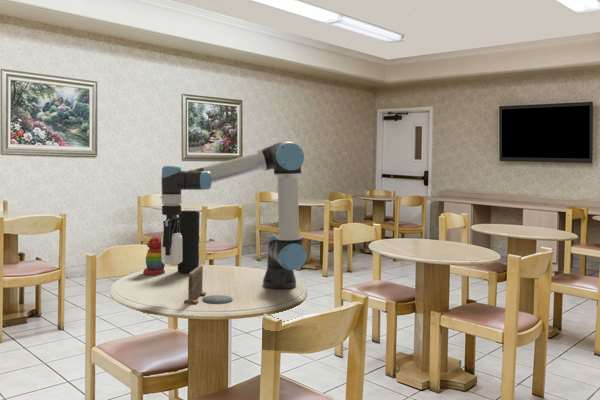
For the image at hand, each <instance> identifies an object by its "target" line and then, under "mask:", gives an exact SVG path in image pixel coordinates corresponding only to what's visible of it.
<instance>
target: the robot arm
mask: <svg viewBox="0 0 600 400" xmlns="http://www.w3.org/2000/svg"><path fill="white" fill-rule="evenodd" d="M304 161H305V153H304V150H303V148H302V147H301V146H300V145H299V144H297V143H296V142H292V141H283V142H277V143H274V144H272V145H270V146H267V147H265V148H261V149H258V150H257V152H256V153H251V154H247V155H244V156H239V157H236V158H234V159H229V160H226V161H222V162H221V161H220V162H217V163H213V164H209V165H207V166H203V167H199V168H195V169H190V170H182V167H181V165H180V166H179V165H165V166H162V168H161V195H160V199H161V204H162V206H161V215H163V216H166V218H165V220H163V221H162V222H163V223H162V224H163V233H162V235H163V245H162V246H163V247H165V263H167V264H172V247H171V244H172V235H173V233H180V224H179V222H180V218H179V217H178V215H180V214H181V211H182V205H181V204H182V190H184V191H185V190H186V191H187V190H192V191H193V190H194V191H197V190H198V191H204V190H210V189H211V188H212V184H214V183H216V182H221V181H225V180H228V179H231V178H235V177H239V176H242V175H247V174H249V173H254V172H256V171H257V172H258V171H261V170H263V171H264V172H266V171H269V170H273V175H274V176H275V177H276V178H277V203H278V204H277V206H278V207H277V208H278V211H277V212H278V234H277V235H269V236H268V238H267V257H266V258H267V260H266V262H267V264H266V265H267V267H266V271H265V274H264V276H263V278H262V279H263V280H262V285H263V287H265V288H269V289H275V290H278V289H279V290H284V289H286V290H287V289H292V288H295V287H297V280H296V276H295V273H294V271H296V270H297V269H299V268H301V267H302V266H303V265H304V264H305V261H307V260H306V259H307V252H306V249H305V248H304V244H303V241H304V239H303V238H304V237H303V236H302V235H301V234H300V228H299V227H300V223H299V222H300V220H299V217H300V216H299V214H300V213H299V177H300V176H301V175H302V165H303V163H304ZM167 264H166V265H167Z"/></svg>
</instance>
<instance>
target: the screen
mask: <svg viewBox="0 0 600 400" xmlns="http://www.w3.org/2000/svg"><path fill="white" fill-rule="evenodd" d="M203 268H204V266H203V265H199V266H198V267H197V268H195V269H194V270H193V271H191V272H190V273H189V274H188V293H187V294H188V298H187V299H186V298H185V299H184V300H183V304H188V305H198V304H199V298H200V297H201V296H202V297H206V295H207V291H203V279H204V278H203V277H204V276H203V274H204V273H203V270H204V269H203Z"/></svg>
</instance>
